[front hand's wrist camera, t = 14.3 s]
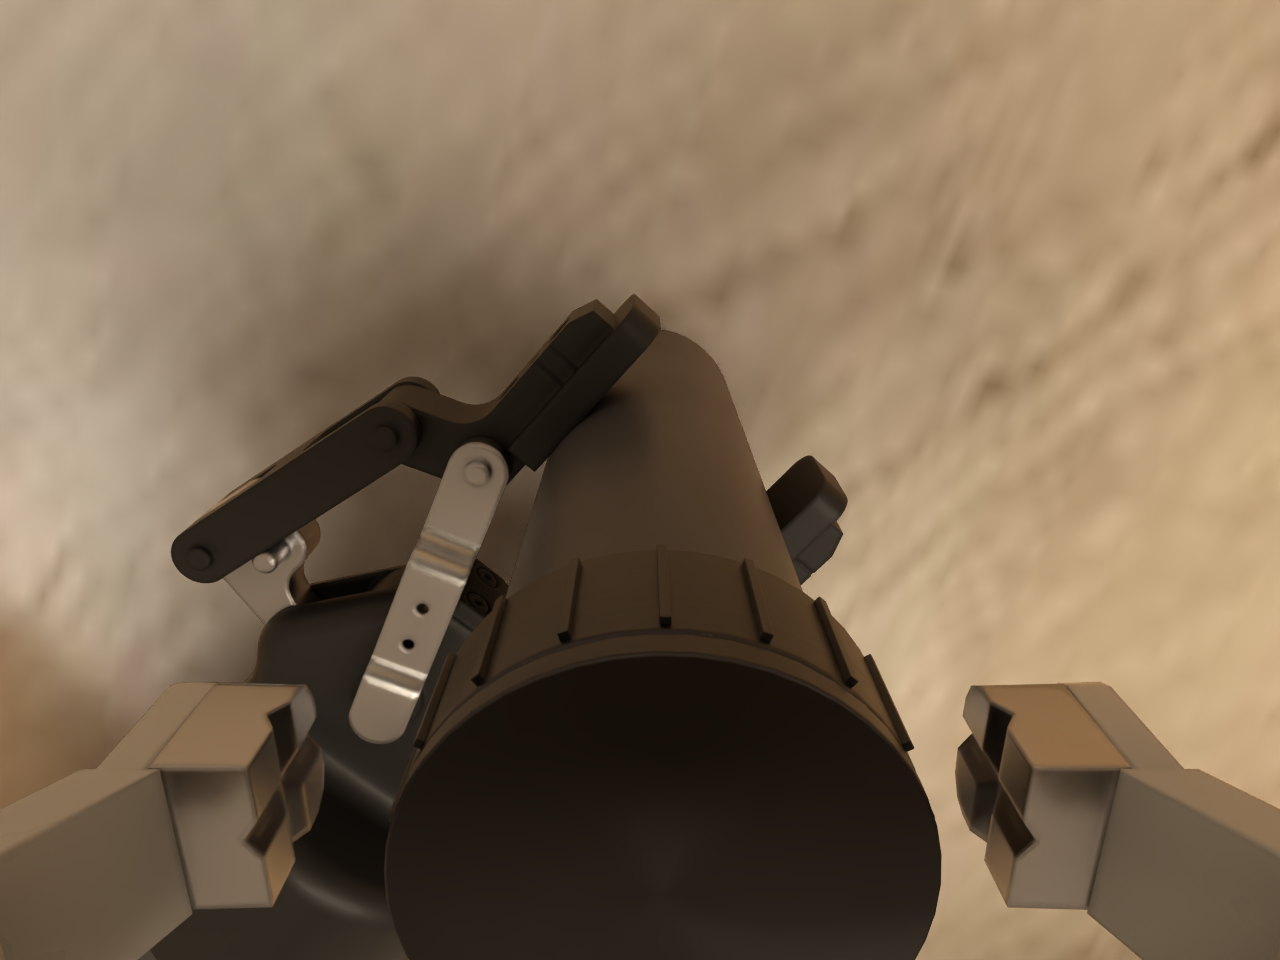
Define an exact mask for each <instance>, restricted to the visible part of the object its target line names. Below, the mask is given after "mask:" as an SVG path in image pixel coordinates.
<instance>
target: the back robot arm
mask: <svg viewBox="0 0 1280 960" xmlns="http://www.w3.org/2000/svg"><path fill="white" fill-rule="evenodd" d="M660 329H661V326H660V317H659V316H658V315H657V314H656V313H655V312H654V311H653V310H652V309H651V308H649V307H648V306H647V305H646V304H645V303H644V302H643V301H642V300H641V299H639V298H638V297H637V296H636V295H635V294H633V295H632V296H631V297H629V298H628V299H627V300H626V301H625V302H624V304H623V305H622V306H621V307H620V308H619V309H618V310H617V311H616V312H615V314H613V313H612V312H611V311H610V310H608V309H607V308H606V307H605V306H604V305H603V304H602V303H601V302H599V301H598V300H597V299H596V300H594V301H592V302H590V303H588V304H586V305H584V306H582V307H580V308H578V309H576V310H574V311H573V312H572V313H571V314H570V315H569V317H568V318H567V319H566V320H565V321H564V322H563V323H562V325H561V326H560V327H559V328H558V329H557V330H556V332H555V333H554V334H553V335H552V336H551V337H550V338H549V340H548V341H547V342H546V343H545V344H544V345H543V347H542V348H541V349H540V350H539V351H538V352H537V353H536V355H535V356H534V357H533V358H532V359H531V360H530V361H529V363H528V364H527V365H526V366H525V367H524V368H523V370H522V371H521V372H520V373H519V374H518V375H517V376H516V378H515V379H514V380H513V381H512V382H511V383H510V385H509V386H508V387H507V388H506V389H505V390H504V391H503V393H502V394H501V395H500V396H499V397H497V398H496V399H494V400H492V401H490V402H488V403H485V404H480V405H471V404H465V403H462V402H459V401H456V400H454V399H451V398H448V397H446V396H443V395H441V394H440V393H439V391H438V390H437V388H436V387H435V386H434V385H433V384H432V383H430V382H429V381H427V380H425V379H423V378H419V377H407V378H404V379H401V380H399V381H398V382H396V383H395V384H393V385H392V386H390V387H389V388H387V389H386V390H384V391H383V392H381V393H380V394H378V395H377V396H375V397H374V398H372V399H370V400H369V401H367V402H366V403H364V404H363V405H361V406H360V407H358V408H357V409H355V410H354V411H352V412H351V413H349V414H348V415H346V416H345V417H343V418H342V419H340V420H339V421H337V422H336V423H334V424H333V425H331V426H330V427H328V428H327V429H325V430H324V431H322V432H321V433H319V434H318V435H316V436H315V437H313V438H312V439H310V440H309V441H307V442H306V443H304V444H303V445H301V446H300V447H298V448H296V449H295V450H293V451H292V452H290V453H289V454H287V455H286V456H284V457H283V458H281V459H280V460H278V461H277V462H275V463H274V464H272V465H271V466H269V467H268V468H266V469H265V470H263V471H262V472H260V473H259V474H257V475H256V476H254V477H253V478H251V479H250V480H248V481H247V482H245V483H244V484H242V485H241V486H239V487H238V488H236V489H235V490H233V491H232V492H230V493H229V494H228V495H227V496H226V497H224V498H223V499H222V500H221V501H220V502H218V503H217V504H216V505H215V506H213V507H212V508H211V509H210V510H209V511H207V512H206V513H205V514H204V515H203V516H201V517H200V518H199V519H198V520H197V521H195V522H194V523H193V524H192V525H191V526H190V527H188V528H187V529H186V530H185V531H184V532H182V533H181V534H180V535H179V536H178V537H177V538H176V539H175V540H174V542H173V544H172V547H171V556H172V560H173V562H174V565H175V566H176V568H177V569H178V570H179V571H180V572H181V573H182V574H183V575H184V576H185V577H187V578H189V579H191V580H193V581H196V582H200V583H213V582H216V581H218V580H220V579H222V578H224V579H225V581H226V582H227V583H228V584H229V585H230V586H231V587H232V588H233V590H234V591H235V592H236V593H237V594H238V595H239V596H240V597H241V599H242V600H243V601H244V602H245V603H246V604H247V605H248V606H249V607H250V609H251V610H252V611H253V612H254V613H255V614H256V615H257V616H258V618H259V619H260V620H261V621H262V622H263V623H264V624H265V627H264V629H263V631H262V633H261V635H260V638H259V642H258V653H257V662H256V667H255V670H254V672H253V673H252V674H251V675H250V676H249V677H248V679H247V680H246V681H245V682H244V683H264V684H306V685H307V687H308V688H309V689H310V690H311V691H312V692H313V697H314V702H315V707H316V712H317V717H316V719H315V721H314V723H313V724H312V726H311V728H310V730H309V731H308V734H309V735H310V736H311V737H312V738H313V739H314V740H315V741H316V742H317V743H318V744H319V745H320V746H321V747H322V751H323V759H324V790H323V794H322V799H321V804H320V808H319V812H318V814H317V816H316V819H315V821H314V823H313V825H312V827H311V830H310V831H309V832H307V833H306V834H304V835H303V836H301V837H300V838H299V839H297V840H296V841H294V842H293V847H294V853H295V859H296V860H295V862H294V864H293V867H292V869H291V871H290V873H289V875H288V877H287V879H286V881H285V883H284V885H283V887H282V889H281V891H280V893H279V895H278V897H277V899H276V901H275V903H274V905H273V907H264V908H230V909H195V910H192V915H191V916H189V917H188V918H187V919H186V920H185V921H183V922H182V923H181V924H180V925H179V926H177V927H176V928H175V929H174V930H173V931H171V932H170V933H169V934H168V935H167V936H165V937H164V938H163V939H162V940H161V941H159V942H158V943H157V944H156V945H155V946H153V947H152V948H151V949H150V950H149V951H148V952H146V953H145V954H144V955H143V956H142V957H140V958H139V959H138V960H408V958H407V956H406V955H405V952H404V950H403V948H402V946H401V943H400V941H399V939H398V937H397V934H396V932H395V930H394V927H393V923H392V919H391V915H390V912H389V908H388V904H387V900H386V889H385V879H384V861H385V848H386V840H387V836H388V832H389V828H390V824H391V822H390V821H389V813H390V810H391V808H392V805H393V802H394V800H395V797H396V795H397V792H398V789H399V787H400V784H401V781H402V779H403V776H404V773H405V771H406V768H407V766H408V763H409V760H410V758H411V755H412V752H413V750H414V746H413V742H414V740H415V737H416V734H417V732H418V729H419V727H420V724H421V721H422V719H423V716H424V714H425V711H426V708H427V706H428V703H429V701H430V698H431V695H432V693H433V690H434V688H435V685H436V682H437V680H438V677H439V675H440V672H441V669H442V667H443V664H444V662H445V659H446V657H447V655H448V654H449V652H452V653H454V654H457V652H458V651H459V649H460V648H461V646H462V644H463V643H464V641H465V640H466V639H467V638H468V636H469V635H470V634H471V633H472V632H473V631H474V629H475V628H476V627H477V626H478V625H479V623H480V622H481V621H482V620H483V619H484V618H485V617H486V616H487V615H489V614H490V613H491V612H492V611H493V607H494V604H495V601H496V599H498V598H499V597H500V596H501V595H504V596H505V597H506V594H507V591H508V588H509V586H508V585H507V584H506V583H505V581H504V580H503V579H502V578H501V577H500V576H498V575H497V574H496V573H495V572H493V571H492V570H491V569H489V568H488V567H487V566H485V565H484V564H483V563H482V562H480V561H479V560H478V559H476V557H477V554H478V552H479V549H480V547H481V545H482V542H483V540H484V537H485V535H486V532H487V530H488V528H489V525H490V523H491V520H492V518H493V515H494V513H495V511H496V508H497V506H498V503H499V501H500V499H501V496H502V494H503V491H504V489H505V486H506V485H507V484H508V483H509V482H510V481H511V480H512V479H513V478H514V477H515V476H516V474H517V473H518V472H519V471H520V470H521V469H522V468H523V467H524V466H525V465H527V466H528V467H529V468H531V469H532V470H533V471H534V472H535V471H536V470H537V469H538V468H539V467H540V466H541V464H542V463H543V462H544V461H545V460H546V459H547V458H548V457H549V456H550V455H551V453H552V452H553V451H554V450H555V449H556V448H557V447H558V445H559V444H560V443H561V442H562V440H563V439H564V438H565V437H566V436H567V435H568V434H569V433H570V432H571V431H572V430H573V429H574V428H575V427H576V426H577V425H578V424H579V423H580V422H581V420H582V419H583V418H584V417H585V416H586V415H587V414H588V413H589V412H590V411H591V409H592V408H593V407H594V406H595V405H596V404H597V403H598V402H599V401H600V400H601V398H602V397H603V396H604V395H605V394H606V393H607V392H608V391H609V390H610V389H611V388H612V386H613V385H614V384H615V383H616V382H617V381H618V380H619V379H620V378H621V377H622V375H623V374H624V373H625V372H626V371H627V370H628V369H629V368H630V367H631V366H632V364H633V363H634V362H635V361H636V360H637V359H638V358H639V357H640V356H641V355H642V353H643V352H644V351H645V350H646V349H647V348H648V347H649V345H650V344H651V343H652V342H653V340H654V339H655V338H656V336H657V335H658V333H659V331H660ZM400 464H403V465H406V466H409V467H412V468H414V469H417V470H420V471H423V472H425V473H428V474H431V475H434V476H436V477H439V478H442V480H441V483H440V485H439V488H438V490H437V493H436V496H435V498H434V501H433V503H432V506H431V509H430V511H429V514H428V516H427V519H426V522H425V524H424V527H423V529H422V532H421V534H420V536H419V538H418V540H417V543H416V545H415V547H414V549H413V551H412V554H411V556H410V558H409V561H408V563H407V565H403V566H398V567H393V568H388V569H383V570H377V571H372V572H367V573H362V574H357V575H352V576H347V577H342V578H337V579H332V580H327V581H322V582H317V583H312V584H309V583H308V581H307V579H306V577H305V574H304V562H305V560H306V559H307V558H308V556H309V555H310V554H311V553H312V552H313V550H314V549H315V548H316V547H317V545H318V543H319V541H320V536H321V532H320V527H319V524H318V522H317V521H316V518H317V517H319V516H321V515H322V514H324V513H325V512H327V511H328V510H330V509H332V508H333V507H335V506H336V505H338V504H339V503H341V502H342V501H344V500H346V499H347V498H349V497H350V496H352V495H353V494H355V493H357V492H358V491H360V490H361V489H363V488H364V487H366V486H367V485H369V484H371V483H372V482H374V481H375V480H377V479H378V478H380V477H382V476H383V475H385V474H386V473H388V472H389V471H391V470H393V469H394V468H396V467H397V466H399V465H400ZM766 493H767V496H768V498H769V501H770V504H771V506H772V509H773V512H774V515H775V517H776V520H777V523H778V525H779V528H780V531H781V533H782V536H783V539H784V542H785V544H786V547H787V550H788V552H789V555H790V558H791V561H792V563H793V566H794V569H795V571H796V574H797V577H798V580H799V582H800V585H802V584H803V583H804V582H805V581H806V580H807V579H808V578H809V577H810V576H811V574H812V573H815V572H816V571H817V570H818V569H819V568H820V567H821V566H822V565H823V564H824V563H825V562H826V561H828V560H829V559H830V558H831V557H832V556H833V554H834V552H835V550H836V548H837V546H838V544H839V542H840V539H841V537H842V535H843V532H842V531H841V529H840V527H839V525H838V523H837V520H838V519H839V517H840V516H841V515H842V513H843V512H844V510H845V508H846V505H847V497H846V495H845V493H844V492H843V490H842V488H841V487H840V485H839V483H838V482H837V480H836V478H835V477H834V476H833V475H832V474H831V473H830V472H829V471H828V470H827V469H826V468H825V467H823V466H822V465H821V464H820V463H819V462H818V461H817V460H816V459H815V458H814V457H812V456H805V457H803V458H802V459H800V460H799V461H797V462H796V463H795V464H794V465H793V466H792V467H791V468H790V469H789V470H788V471H787V472H786V473H785V474H784V475H783V476H782V477H781V478H779V479H778V480H777V481H776V482H775V483H774V484H773V485H772V486H771V487H770V488H769V489H768V490H767V491H766ZM475 559H476V560H475Z"/></svg>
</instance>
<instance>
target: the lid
mask: <svg viewBox="0 0 1280 960" xmlns="http://www.w3.org/2000/svg"><path fill="white" fill-rule="evenodd" d="M413 746H414V750H413V752H412V755H411V758H410V760H409V763H408V766H407V768H406V771H405V773H404V776H403V779H402V781H401V784H400V787H399V789H398V792H397V795H396V797H395V800H394V802H393V805H392V808H391V810H390V813H389V821H390V822H391V824H390V828H389V832H388V836H387V840H386V848H385V861H384V879H385V889H386V900H387V904H388V908H389V912H390V915H391V919H392V923H393V927H394V930H395V932H396V934H397V937H398V939H399V941H400V943H401V946H402V948H403V950H404V952H405V955H406V956H407V958H408V959H409V960H915V959H916V957H917V955H918V953H919V951H920V950H921V948H922V946H923V944H924V942H925V940H926V938H927V935H928V932H929V929H930V927H931V924H932V921H933V918H934V916H935V912H936V907H937V901H938V896H939V891H940V885H941V849H940V842H939V836H938V829H937V824H936V821H935V816H934V814H933V811H932V809H931V806H930V803H929V800H928V797H927V795H926V793H925V790H924V788H923V786H922V784H921V781H920V779H919V777H918V775H917V773H916V771H915V768H914V766H913V763H912V761H911V759H910V757H909V754H908V751H910V750H912V749H914V746H913V744H912V742H911V740H910V737H909V735H908V733H907V731H906V729H905V727H904V724H903V722H902V720H901V718H900V716H899V713H898V711H897V709H896V707H895V705H894V703H893V700H892V698H891V696H890V694H889V692H888V690H887V687H886V685H885V683H884V681H883V679H882V676H881V674H880V672H879V670H878V668H877V666H876V663H875V661H874V659H873V657H872V656H871V654H869V655H867V656H865V657H864V656H863V654H862V652H861V651H860V649H859V648H858V646H857V645H856V644H855V642H854V641H853V640H852V638H851V637H850V636H849V634H848V633H847V631H846V630H845V629H844V628H843V627H842V626H841V625H840V624H839V623H838V622H837V620H836V619H835V618H834V617H833V616H832V615H831V613H830V611H829V608H828V606H827V603H826V601H824V600H823V599H822V598H821V597H818V598H817V599H816V600H815V601H814V600H813V599H812V598H810V597H809V596H808V595H807V594H805V593H804V592H803V591H801V590H800V589H798V588H796V587H794V586H793V585H791V584H789V583H787V582H786V581H784V580H782V579H780V578H779V577H777V576H775V575H773V574H770V573H768V572H766V571H763V570H761V569H758V568H756V567H755V564H754V561H753V560H750V559H747V558H744V560H743V562H739V561H736V560H732V559H728V558H725V557H721V556H717V555H713V554H706V553H700V552H695V551H686V550H667V545H657V549H648V550H638V551H627V552H618V553H613V554H609V555H604V556H599V557H595V558H590V559H587V560H584V561H580V559H579V557H576V558H573V559H570V561H569V566H567V567H564V568H561V569H558V570H556V571H554V572H551V573H549V574H548V575H545V576H544V577H542V578H540V579H538V580H536V581H534V582H532V583H530V584H528V585H527V586H525V587H524V588H522V589H521V590H519V591H518V592H516V593H515V594H513V595H512V596H510V597H509V598H506V597H505V596H504V595H501V596H500V597H499V598H498V599H496V601H495V604H494V607H493V611H492V612H491V613H490V614H489V615H487V616H486V617H485V618H484V619H483V620H482V621H481V622H480V623H479V625H478V626H477V627H476V628H475V629H474V631H473V632H472V633H471V634H470V635H469V636H468V638H467V639H466V640H465V641H464V643H463V644H462V646H461V648H460V649H459V651H458V652H457V654H454V653H452V652H449V654H448V655H447V657H446V659H445V662H444V664H443V667H442V669H441V672H440V675H439V677H438V680H437V682H436V685H435V688H434V690H433V693H432V695H431V698H430V701H429V703H428V706H427V708H426V711H425V714H424V716H423V719H422V721H421V724H420V727H419V729H418V732H417V734H416V737H415V740H414V742H413Z"/></svg>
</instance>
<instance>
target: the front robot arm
mask: <svg viewBox="0 0 1280 960" xmlns="http://www.w3.org/2000/svg"><path fill="white" fill-rule="evenodd" d="M316 717H317V712H316V707H315V702H314V697H313V692H312V691H311V690H310V689H309V688H308V687H307V685H306V684H264V683H221V684H220V683H218V682H194V683H178V684H175V685H171V686H170V687H169V688H168V689H167V690H166V691H165V692H164V693H163V694H162V695H161V696H160V698H159V699H158V700H157V701H156V702H155V703H154V704H153V705H152V707H151V708H150V709H149V710H148V711H147V712H146V713H145V714H144V716H143V717H142V718H141V719H140V720H139V721H138V722H137V723H136V724H135V726H134V727H133V728H132V729H131V730H130V731H129V732H128V733H127V735H126V736H125V737H124V738H123V739H122V740H121V741H120V742H119V744H118V745H117V746H116V747H115V748H114V749H113V750H112V751H111V753H110V754H109V755H108V756H107V757H106V758H105V759H104V760H103V762H102V763H101V764H100V765H99V766H98V767H97V768H96V769H81V770H79V771H77V772H75V773H73V774H71V775H69V776H67V777H65V778H63V779H61V780H59V781H57V782H55V783H53V784H50V785H48V786H46V787H44V788H42V789H40V790H38V791H36V792H34V793H32V794H30V795H28V796H26V797H24V798H22V799H20V800H18V801H16V802H14V803H12V804H10V805H8V806H6V807H4V808H2V809H0V960H138V959H139V958H140V957H142V956H143V955H144V954H145V953H146V952H148V951H149V950H150V949H151V948H152V947H153V946H155V945H156V944H157V943H158V942H159V941H161V940H162V939H163V938H164V937H165V936H167V935H168V934H169V933H170V932H171V931H173V930H174V929H175V928H176V927H177V926H179V925H180V924H181V923H182V922H183V921H185V920H186V919H187V918H188V917H189V916H191V915H192V910H195V909H230V908H264V907H273V905H274V903H275V901H276V899H277V897H278V895H279V893H280V891H281V889H282V887H283V885H284V883H285V881H286V879H287V877H288V875H289V873H290V871H291V869H292V867H293V864H294V862H295V860H296V859H295V853H294V847H293V842H294V841H296V840H297V839H299V838H300V837H301V836H303V835H304V834H306V833H307V832H309V831H310V830H311V827H312V825H313V823H314V821H315V819H316V816H317V814H318V812H319V808H320V804H321V799H322V794H323V790H324V759H323V751H322V747H321V746H320V745H319V744H318V743H317V742H316V741H315V740H314V739H313V738H312V737H311V736H310V735H309V734H308V731H309V730H310V728H311V726H312V724H313V723H314V721H315V719H316ZM963 717H964V719H965V721H966V723H967V724H968V726H969V728H970V730H971V731H972V734H971V735H970V736H969V737H968V738H967V739H966V740H965V741H964V742H963V743H962V744H961V745H960V746H959V747H958V752H957V761H956V769H955V776H956V788H957V797H958V801H959V804H960V808H961V811H962V814H963V817H964V819H965V821H966V823H967V825H968V827H969V830H970V831H971V832H973V833H974V834H976V835H977V836H979V837H980V838H981V839H983V840H984V841H986V842H987V847H986V853H985V859H984V860H985V862H986V864H987V866H988V869H989V871H990V873H991V875H992V877H993V879H994V881H995V883H996V885H997V887H998V889H999V891H1000V893H1001V895H1002V897H1003V899H1004V901H1005V903H1006V905H1007V907H1013V908H1049V909H1084V910H1088V912H1087V913H1088V914H1089V915H1090V916H1091V917H1092V918H1094V919H1095V920H1096V921H1097V922H1098V923H1099V924H1101V925H1102V926H1103V927H1104V928H1105V929H1107V930H1108V931H1109V932H1110V933H1111V934H1113V935H1114V936H1115V937H1116V938H1117V939H1119V940H1120V941H1121V942H1122V943H1123V944H1124V945H1126V946H1127V947H1128V948H1129V949H1130V950H1132V951H1133V952H1134V953H1135V954H1136V955H1138V956H1139V957H1140V958H1141V959H1142V960H1280V809H1278V808H1276V807H1274V806H1272V805H1270V804H1268V803H1266V802H1264V801H1262V800H1260V799H1258V798H1256V797H1254V796H1252V795H1250V794H1248V793H1246V792H1244V791H1242V790H1240V789H1238V788H1236V787H1234V786H1231V785H1229V784H1227V783H1225V782H1223V781H1221V780H1219V779H1217V778H1215V777H1213V776H1211V775H1209V774H1207V773H1205V772H1203V771H1201V770H1199V769H1184V768H1183V767H1182V766H1181V765H1180V764H1179V763H1178V762H1177V760H1176V759H1175V758H1174V757H1173V756H1172V755H1171V754H1170V753H1169V751H1168V750H1167V749H1166V748H1165V747H1164V746H1163V745H1162V744H1161V742H1160V741H1159V740H1158V739H1157V738H1156V737H1155V736H1154V735H1153V733H1152V732H1151V731H1150V730H1149V729H1148V728H1147V727H1146V726H1145V724H1144V723H1143V722H1142V721H1141V720H1140V719H1139V718H1138V717H1137V716H1136V714H1135V713H1134V712H1133V711H1132V710H1131V709H1130V708H1129V707H1128V705H1127V704H1126V703H1125V702H1124V701H1123V700H1122V699H1121V698H1120V696H1119V695H1118V694H1117V693H1116V692H1115V691H1114V690H1113V689H1112V687H1110V686H1108V685H1106V684H1104V683H1102V682H1081V683H1057V684H1029V685H981V686H971V687H970V690H969V692H968V694H967V696H966V700H965V706H964V712H963Z"/></svg>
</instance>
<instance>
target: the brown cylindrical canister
mask: <svg viewBox="0 0 1280 960" xmlns="http://www.w3.org/2000/svg"><path fill="white" fill-rule="evenodd" d="M657 545H667V550H686V551H695V552H700V553H706V554H713V555H717V556H721V557H725V558H728V559H732V560H736V561H739V562H743V560H744V558H747V559H750V560H753V561H754V564H755V567H756V568H758V569H761V570H763V571H766V572H768V573H770V574H773V575H775V576H777V577H779V578H780V579H782V580H784V581H786V582H787V583H789V584H791V585H793V586H794V587H796V588H798V589H800V590H801V591H803V590H802V588H801V585H800V582H799V580H798V577H797V574H796V571H795V569H794V566H793V563H792V561H791V558H790V555H789V552H788V550H787V547H786V544H785V542H784V539H783V536H782V533H781V531H780V528H779V525H778V523H777V520H776V517H775V515H774V512H773V509H772V506H771V504H770V501H769V498H768V496H767V493H766V490H765V487H764V485H763V482H762V479H761V477H760V474H759V471H758V468H757V466H756V463H755V460H754V458H753V455H752V452H751V449H750V447H749V444H748V441H747V439H746V436H745V433H744V431H743V428H742V425H741V422H740V420H739V417H738V414H737V412H736V409H735V406H734V403H733V401H732V398H731V395H730V393H729V390H728V387H727V384H726V382H725V379H724V377H723V374H722V373H721V371H720V369H719V367H718V366H717V364H716V363H715V362H714V360H713V359H712V358H711V356H710V355H709V354H708V353H707V352H706V351H705V350H704V349H702V348H701V347H700V346H698V345H697V344H696V343H694V342H693V341H691V340H689V339H687V338H686V337H683V336H681V335H679V334H676V333H673V332H669V331H665V330H660V331H659V333H658V335H657V336H656V338H655V339H654V340H653V342H652V343H651V344H650V345H649V347H648V348H647V349H646V350H645V351H644V352H643V353H642V355H641V356H640V357H639V358H638V359H637V360H636V361H635V362H634V363H633V364H632V366H631V367H630V368H629V369H628V370H627V371H626V372H625V373H624V374H623V375H622V377H621V378H620V379H619V380H618V381H617V382H616V383H615V384H614V385H613V386H612V388H611V389H610V390H609V391H608V392H607V393H606V394H605V395H604V396H603V397H602V398H601V400H600V401H599V402H598V403H597V404H596V405H595V406H594V407H593V408H592V409H591V411H590V412H589V413H588V414H587V415H586V416H585V417H584V418H583V419H582V420H581V422H580V423H579V424H578V425H577V426H576V427H575V428H574V429H573V430H572V431H571V432H570V433H569V434H568V435H567V436H566V437H565V438H564V439H563V440H562V442H561V443H560V444H559V445H558V447H557V448H556V449H555V450H554V451H553V452H552V453H551V455H550V456H549V457H548V459H547V462H546V466H545V469H544V472H543V476H542V479H541V482H540V485H539V489H538V492H537V495H536V499H535V502H534V505H533V509H532V512H531V515H530V518H529V522H528V525H527V528H526V532H525V535H524V538H523V542H522V545H521V548H520V551H519V555H518V558H517V561H516V565H515V568H514V571H513V575H512V578H511V581H510V585H509V588H508V591H507V594H506V598H509V597H510V596H512V595H513V594H515V593H516V592H518V591H519V590H521V589H522V588H524V587H525V586H527V585H528V584H530V583H532V582H534V581H536V580H538V579H540V578H542V577H544V576H545V575H548V574H549V573H551V572H554V571H556V570H558V569H561V568H564V567H567V566H569V561H570V559H573V558H576V557H579V559H580V561H584V560H587V559H590V558H595V557H599V556H604V555H609V554H613V553H618V552H627V551H638V550H648V549H657Z"/></svg>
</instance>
